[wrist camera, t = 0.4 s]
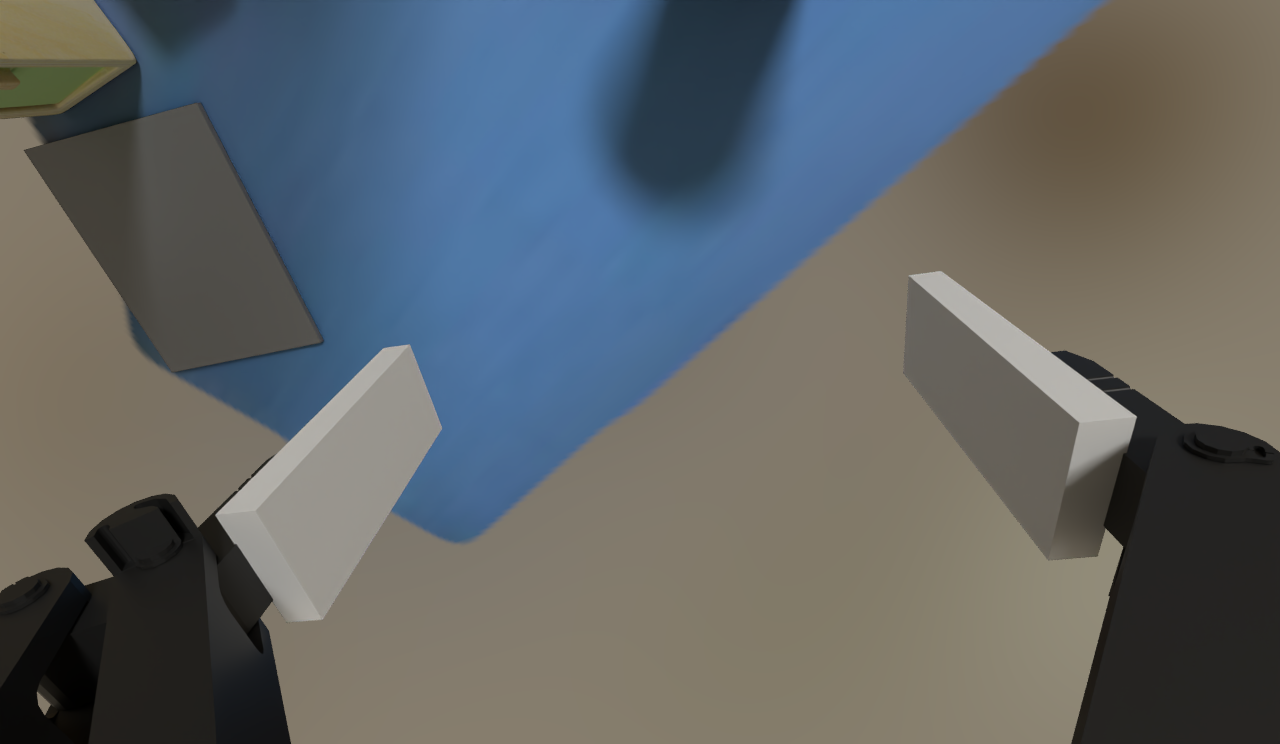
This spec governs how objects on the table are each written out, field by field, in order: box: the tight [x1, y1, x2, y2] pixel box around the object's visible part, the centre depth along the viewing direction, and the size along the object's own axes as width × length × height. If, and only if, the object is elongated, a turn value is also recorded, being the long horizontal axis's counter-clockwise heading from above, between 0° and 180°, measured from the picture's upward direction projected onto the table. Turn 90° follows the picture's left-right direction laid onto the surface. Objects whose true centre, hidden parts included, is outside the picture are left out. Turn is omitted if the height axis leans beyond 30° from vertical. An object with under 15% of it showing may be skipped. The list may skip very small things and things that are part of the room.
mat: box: [24, 103, 324, 372], centre depth 43 cm, size 18×14×1 cm
